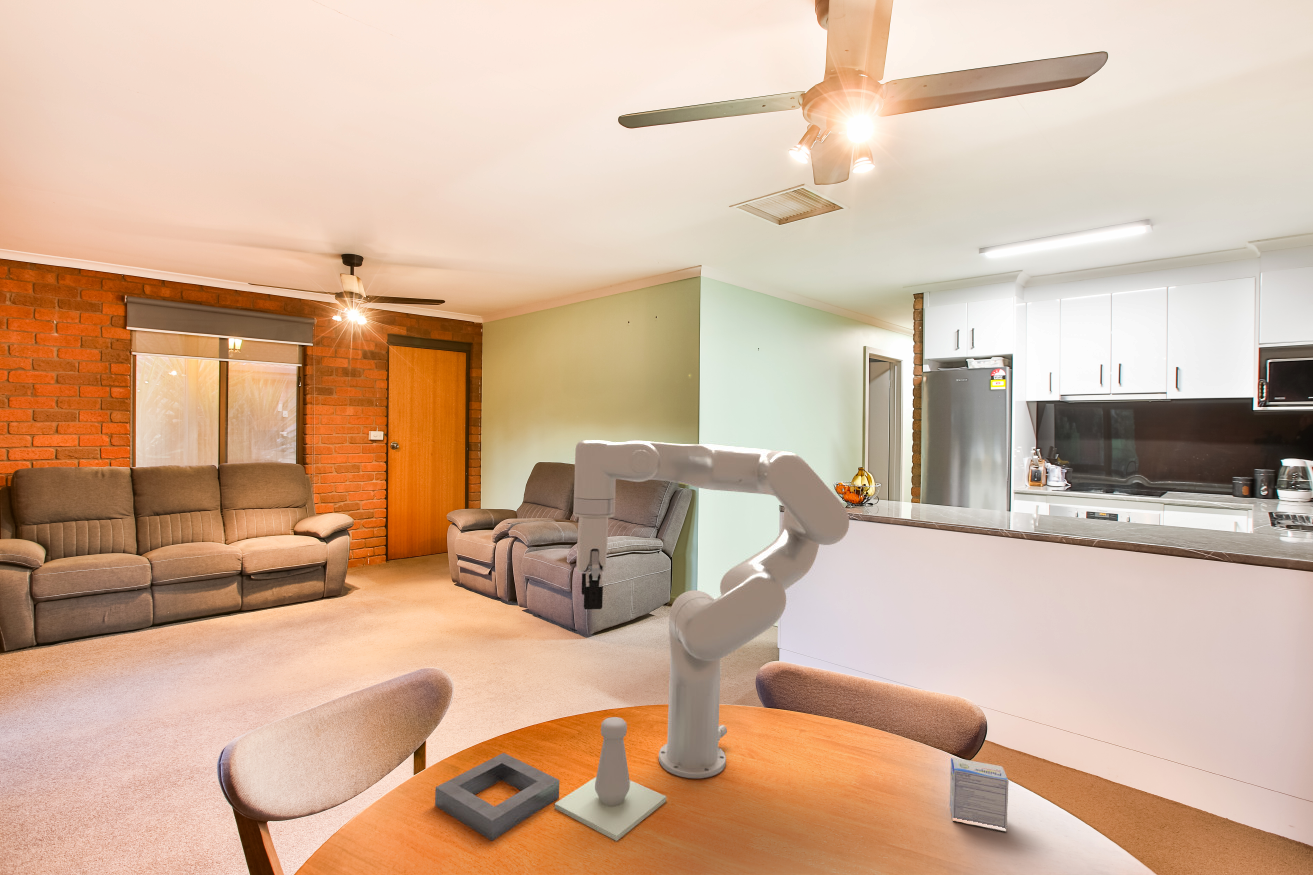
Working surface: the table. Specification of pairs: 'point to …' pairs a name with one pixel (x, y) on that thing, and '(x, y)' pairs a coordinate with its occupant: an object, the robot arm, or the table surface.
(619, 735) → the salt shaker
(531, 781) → the grey square frame
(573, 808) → the mat
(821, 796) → the table surface
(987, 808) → the medicine box
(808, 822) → the table surface
